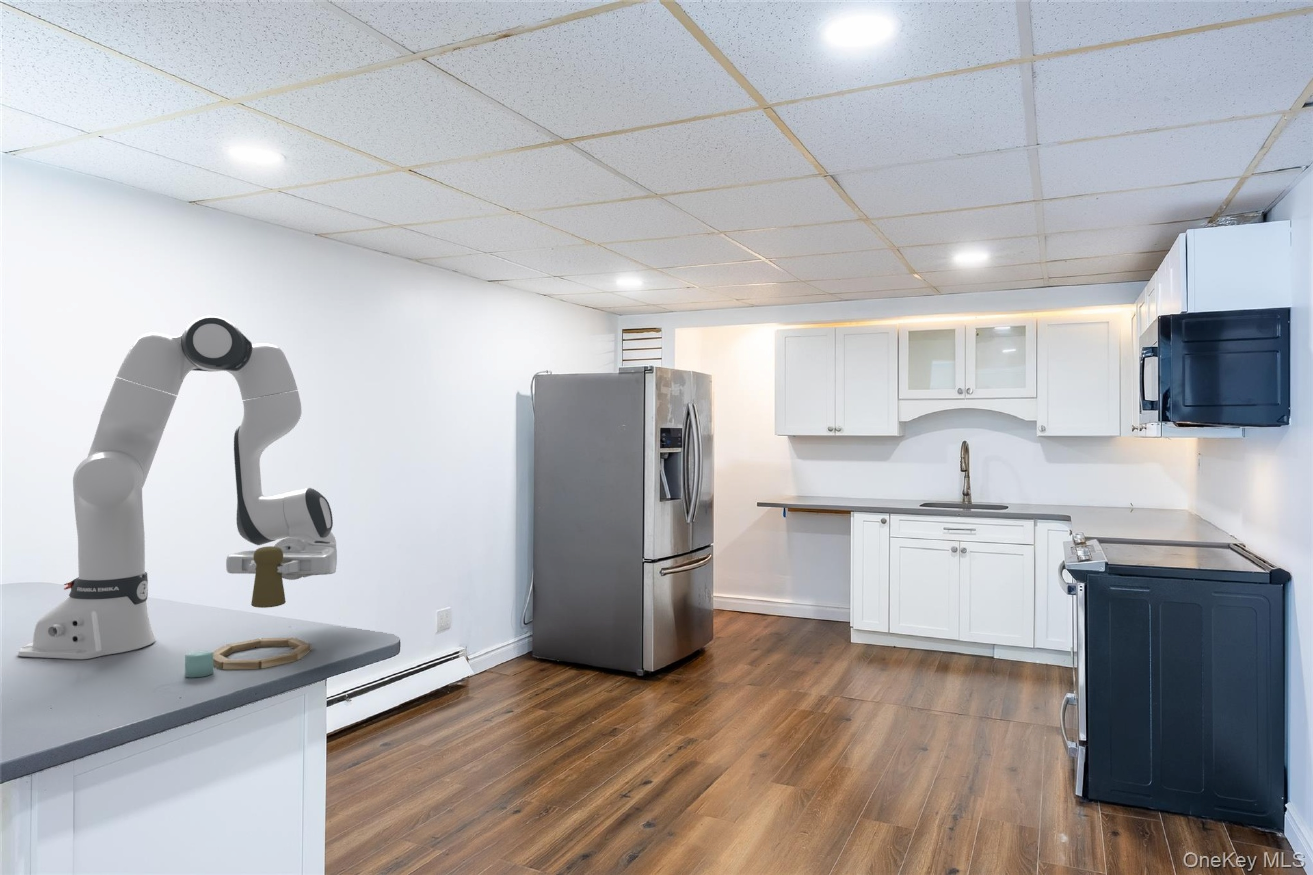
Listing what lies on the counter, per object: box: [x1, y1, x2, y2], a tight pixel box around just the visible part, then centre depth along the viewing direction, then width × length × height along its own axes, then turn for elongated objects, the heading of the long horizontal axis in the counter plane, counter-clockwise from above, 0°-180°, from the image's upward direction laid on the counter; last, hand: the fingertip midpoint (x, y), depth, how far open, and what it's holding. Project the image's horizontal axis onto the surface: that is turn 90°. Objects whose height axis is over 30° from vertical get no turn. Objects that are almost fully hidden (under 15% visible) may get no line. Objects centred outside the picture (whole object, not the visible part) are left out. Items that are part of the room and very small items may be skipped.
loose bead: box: [184, 651, 214, 678], centre depth 145 cm, size 4×4×4 cm
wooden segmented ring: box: [212, 637, 311, 670], centre depth 156 cm, size 17×17×1 cm
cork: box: [250, 545, 286, 609], centre depth 158 cm, size 6×6×11 cm
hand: (266, 569), depth 157 cm, fingers closed on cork, 4 cm apart
